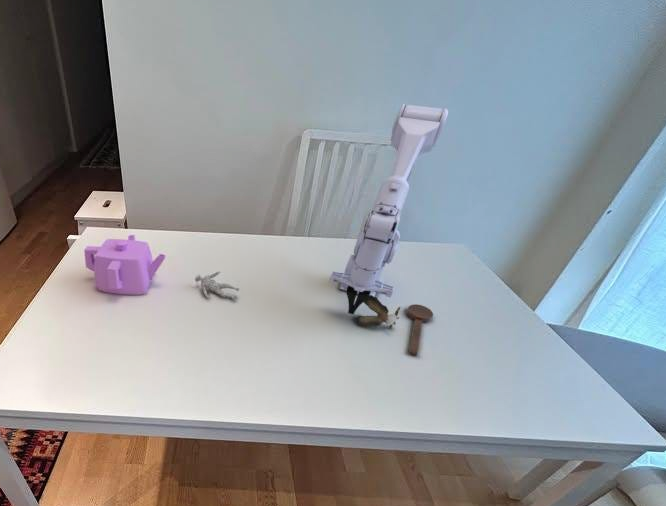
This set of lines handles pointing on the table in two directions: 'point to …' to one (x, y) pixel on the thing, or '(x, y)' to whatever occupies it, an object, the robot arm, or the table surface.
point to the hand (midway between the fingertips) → (351, 311)
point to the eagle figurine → (380, 310)
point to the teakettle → (122, 265)
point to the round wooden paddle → (417, 324)
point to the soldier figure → (214, 285)
